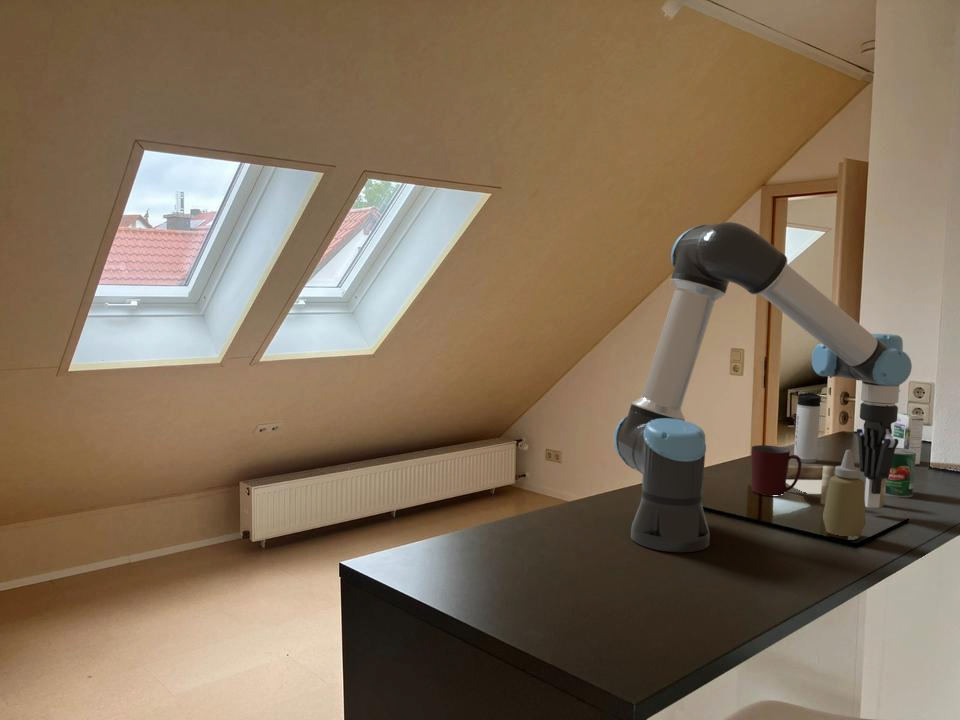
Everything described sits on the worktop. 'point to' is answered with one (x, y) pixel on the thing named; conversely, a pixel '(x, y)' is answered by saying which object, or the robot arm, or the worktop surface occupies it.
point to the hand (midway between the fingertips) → (871, 506)
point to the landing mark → (807, 486)
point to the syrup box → (909, 433)
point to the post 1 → (826, 481)
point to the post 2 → (882, 493)
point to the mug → (771, 469)
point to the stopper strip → (805, 472)
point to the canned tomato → (901, 474)
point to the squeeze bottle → (845, 500)
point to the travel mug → (807, 427)
